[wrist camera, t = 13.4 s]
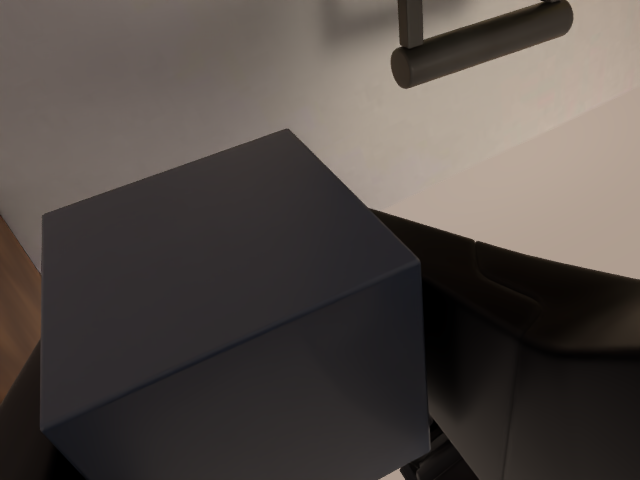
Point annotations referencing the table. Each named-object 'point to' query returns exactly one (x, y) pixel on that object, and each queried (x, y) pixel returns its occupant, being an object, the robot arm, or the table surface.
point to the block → (232, 326)
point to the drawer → (471, 40)
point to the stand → (16, 308)
